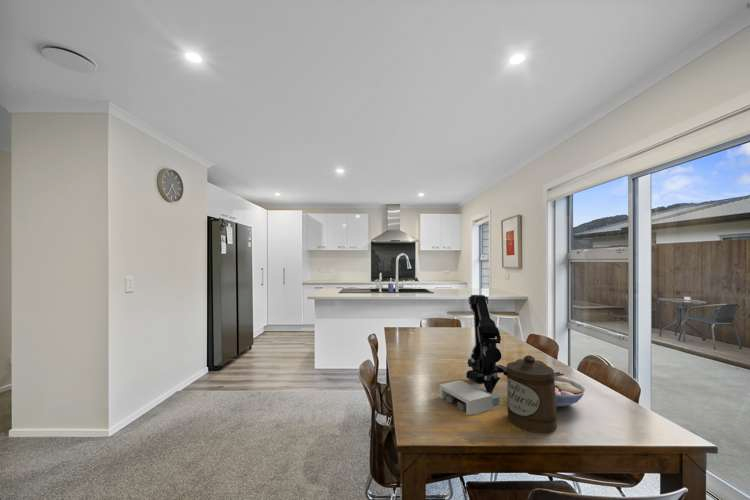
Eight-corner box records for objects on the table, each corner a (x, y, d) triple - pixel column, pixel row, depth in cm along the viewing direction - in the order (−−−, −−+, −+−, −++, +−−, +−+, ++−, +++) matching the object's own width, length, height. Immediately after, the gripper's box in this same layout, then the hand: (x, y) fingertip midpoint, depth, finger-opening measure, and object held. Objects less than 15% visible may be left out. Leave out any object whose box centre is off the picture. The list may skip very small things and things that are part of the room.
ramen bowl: (548, 421, 105) (548, 396, 106) (503, 394, 127) (503, 374, 128) (604, 412, 112) (603, 389, 112) (553, 388, 134) (552, 369, 134)
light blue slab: (476, 392, 130) (476, 386, 130) (499, 403, 119) (499, 397, 119) (457, 396, 125) (457, 390, 125) (479, 408, 114) (479, 401, 115)
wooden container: (498, 415, 109) (497, 352, 110) (530, 409, 114) (528, 348, 116) (533, 437, 95) (531, 364, 97) (567, 428, 100) (565, 359, 102)
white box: (460, 392, 129) (460, 380, 130) (492, 409, 114) (492, 395, 114) (439, 397, 125) (439, 384, 125) (469, 415, 109) (469, 400, 109)
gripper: (489, 348, 137) (490, 384, 136) (456, 353, 129) (457, 391, 128) (510, 354, 127) (511, 393, 126) (476, 360, 119) (477, 402, 118)
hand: (489, 394), depth 125 cm, fingers closed
